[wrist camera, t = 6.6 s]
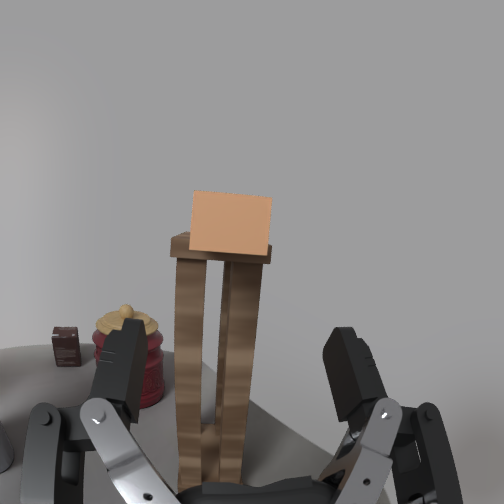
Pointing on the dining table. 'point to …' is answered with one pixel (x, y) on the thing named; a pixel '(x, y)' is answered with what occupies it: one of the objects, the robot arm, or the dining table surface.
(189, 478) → the walnut shelf stand
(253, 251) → the terracotta bar
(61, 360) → the box
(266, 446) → the dining table surface
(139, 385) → the robot arm
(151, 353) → the canister
